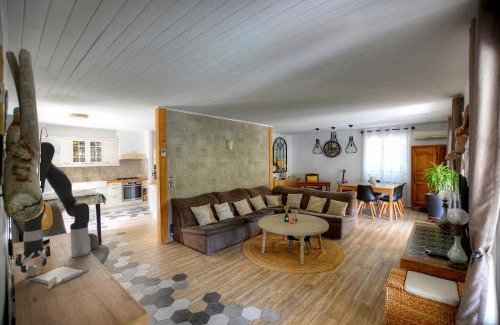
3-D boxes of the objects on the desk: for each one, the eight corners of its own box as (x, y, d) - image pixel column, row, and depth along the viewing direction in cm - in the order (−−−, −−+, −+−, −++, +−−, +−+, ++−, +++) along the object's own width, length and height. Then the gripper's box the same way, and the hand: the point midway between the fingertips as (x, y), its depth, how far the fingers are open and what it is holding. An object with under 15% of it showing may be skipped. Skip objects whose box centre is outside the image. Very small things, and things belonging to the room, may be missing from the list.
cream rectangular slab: (55, 283, 115) (55, 276, 115) (56, 283, 115) (56, 275, 115) (48, 288, 110) (48, 281, 110) (50, 288, 110) (49, 281, 110)
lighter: (26, 277, 122) (25, 261, 122) (26, 276, 124) (25, 260, 124) (44, 272, 127) (43, 257, 127) (44, 271, 128) (43, 256, 128)
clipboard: (64, 266, 134) (64, 263, 134) (88, 271, 127) (88, 268, 127) (29, 280, 119) (29, 276, 119) (55, 286, 112) (55, 283, 112)
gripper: (44, 234, 133) (45, 262, 133) (11, 242, 120) (12, 274, 120) (53, 235, 130) (53, 264, 130) (20, 243, 117) (21, 276, 117)
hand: (34, 269), depth 125 cm, fingers open, 8 cm apart
